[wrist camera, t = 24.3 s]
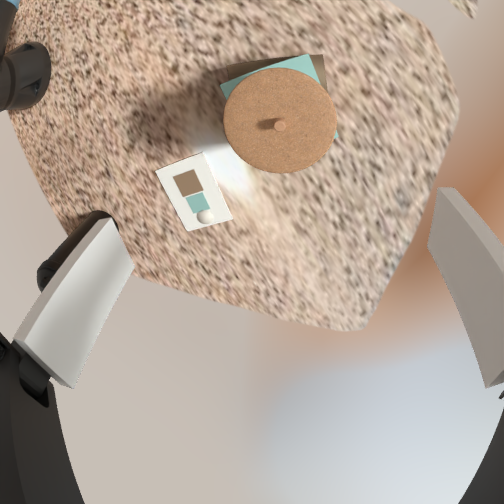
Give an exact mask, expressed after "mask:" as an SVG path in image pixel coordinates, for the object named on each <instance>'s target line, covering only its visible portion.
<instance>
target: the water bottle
mask: <svg viewBox="0 0 504 504" xmlns="http://www.w3.org/2000/svg"><path fill="white" fill-rule="evenodd" d="M111 217H112V216H111V215H109V214H108V213H106V212H104V211H100V210H97V211H93V212H92V213H91V214H90V215H89V216H88V217H87V218H86V219H85V220H84V221H83V222H82V223H81V224H80V225H79V226H78V227H77V228H76V229H75V230H74V231H73V232H72V233H71V234H70V235H69V236H68V238H67V239H66V240H65V241H64V242H63V243H62V244H61V245H60V246H59V247H58V249H57V250H56V251H55V252H54V253H53V254H52V255H51V256H50V258H49V259H48V260H46V261H44V262H43V263H42V264H41V266H40V267H39V268H38V270H37V283H38V287H39V289H40V291H41V293H42V292H43V290H44V289H45V287H46V286H47V285H48V283H49V282H50V280H51V279H52V278H53V276H54V275H55V273H56V272H57V271H58V269H59V268H60V267H61V265H62V264H63V263H64V262H65V260H66V259H67V258H68V256H69V255H70V254H71V253H72V251H73V250H74V249H75V248H76V246H77V245H78V244H79V243H80V241H81V240H82V239H83V238H84V237H85V235H86V234H87V233H88V232H89V231H90V229H91V228H92V227H93V226H94V225H95V224H96V223H97V221H98V220H100V219H106V218H111ZM112 219H113V222H114V224H115V226H116V228H117V230H118V232H119V228H118V225H117V223H116V221H115V220H114V218H113V217H112Z"/></svg>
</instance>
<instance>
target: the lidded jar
mask: <svg viewBox="0 0 504 504" xmlns="http://www.w3.org/2000/svg"><path fill="white" fill-rule="evenodd" d="M223 125H224V131H225V134H226V137H227V140H228V142H229V144H230V145H231V147H232V148H233V150H234V151H235V152H236V154H237V155H238V156H239V157H240V158H241V159H243V160H244V161H245V162H247V163H248V164H250V165H252V166H253V167H255V168H258V169H260V170H263V171H267V172H271V173H291V172H296V171H299V170H302V169H305V168H307V167H309V166H311V165H313V164H314V163H315V162H317V161H318V160H319V159H320V158H321V157H322V156H323V155H324V154H325V153H326V152H327V150H328V149H329V148H330V146H331V144H332V142H333V139H334V136H335V133H336V126H337V118H336V111H335V107H334V105H333V102H332V100H331V98H330V96H329V94H328V93H327V91H326V90H325V89H324V88H323V87H322V86H321V85H320V84H319V83H318V82H317V81H316V80H315V79H313V78H312V77H310V76H308V75H307V74H305V73H302V72H300V71H297V70H293V69H289V68H279V67H278V68H268V69H264V70H260V71H257V72H255V73H253V74H251V75H249V76H247V77H246V78H244V79H243V80H242V81H241V82H240V83H238V84H237V85H236V87H235V88H234V89H233V90H232V92H231V93H230V95H229V97H228V99H227V101H226V104H225V107H224V113H223Z"/></svg>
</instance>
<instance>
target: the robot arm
mask: <svg viewBox="0 0 504 504" xmlns="http://www.w3.org/2000/svg"><path fill="white" fill-rule="evenodd" d="M19 2H20V0H0V112H1V111H3V110H22V109H26V108H29V107H31V106H33V105H35V104H37V103H38V102H39V101H40V100H41V99H42V97H43V96H44V94H45V92H46V90H47V88H48V85H49V81H50V76H51V61H50V56H49V53H48V51H47V49H46V48H45V47H44V45H42V44H41V43H39V42H28V43H24V44H21V45H19V46H18V47H16V48H14V49H13V50H11V51H10V52H8V53H6V54H5V55H4V52H5V48H6V45H7V41H8V37H9V34H10V30H11V27H12V24H13V21H14V18H15V15H16V12H17V11H18V8H19V7H18V5H19ZM427 248H428V249H429V251H430V253H431V255H432V257H433V259H434V261H435V262H436V264H437V266H438V268H439V270H440V272H441V274H442V276H443V278H444V280H445V282H446V285H447V287H448V289H449V291H450V293H451V295H452V297H453V299H454V302H455V304H456V306H457V309H458V311H459V313H460V316H461V318H462V321H463V323H464V326H465V328H466V331H467V333H468V336H469V339H470V341H471V344H472V347H473V349H474V352H475V355H476V358H477V361H478V364H479V368H480V371H481V374H482V377H483V381H484V384H485V387H486V388H489V387H492V386H495V385H498V384H500V383H503V382H504V246H503V245H502V244H501V242H500V241H499V240H498V238H497V237H496V236H495V234H494V233H493V232H492V231H491V229H490V228H489V227H488V226H487V224H486V223H485V222H484V221H483V220H482V218H481V217H480V216H479V215H478V214H477V213H476V211H475V210H474V209H473V208H472V207H471V206H470V205H469V203H468V202H467V201H466V200H465V199H464V198H463V197H462V196H461V195H460V194H459V193H458V192H457V190H455V189H454V188H438V190H437V197H436V203H435V209H434V215H433V221H432V226H431V231H430V235H429V240H428V244H427ZM134 267H135V265H134V263H133V261H132V259H131V257H130V255H129V253H128V251H127V249H126V247H125V245H124V243H123V241H122V239H121V237H120V235H119V232H118V230H117V228H116V226H115V224H114V222H113V219H112V217H111V218H106V219H100V220H98V221H97V223H96V224H95V225H94V226H93V227H92V228H91V229H90V231H89V232H88V233H87V234H86V235H85V237H84V238H83V239H82V240H81V241H80V243H79V244H78V245H77V246H76V248H75V249H74V250H73V251H72V253H71V254H70V255H69V256H68V258H67V259H66V260H65V262H64V263H63V264H62V265H61V267H60V268H59V269H58V271H57V272H56V273H55V275H54V276H53V278H52V279H51V280H50V282H49V283H48V285H47V286H46V287H45V289H44V290H43V292H42V293H41V295H40V296H39V297H38V299H37V301H36V302H35V303H34V305H33V306H32V308H31V310H30V311H29V313H28V314H27V316H26V317H25V319H24V321H23V322H22V324H21V325H20V327H19V329H18V330H17V332H16V334H15V336H14V337H13V339H14V340H13V341H12V343H11V344H10V343H9V342H8V340H7V339H6V338H5V337H4V336H3V335H2V334H1V333H0V504H85V503H84V501H83V498H82V496H81V493H80V490H79V487H78V485H77V482H76V479H75V476H74V473H73V470H72V467H71V463H70V460H69V456H68V453H67V449H66V445H65V442H64V438H63V434H62V429H61V424H60V419H59V414H58V410H57V404H56V398H55V391H54V387H53V384H52V383H51V382H50V381H49V379H50V377H51V376H52V377H53V378H54V379H55V380H56V381H57V382H58V383H59V384H61V385H63V386H66V387H69V388H72V389H74V387H75V385H76V383H77V380H78V378H79V376H80V374H81V371H82V369H83V367H84V365H85V362H86V360H87V358H88V356H89V353H90V351H91V349H92V347H93V345H94V343H95V341H96V339H97V337H98V335H99V333H100V331H101V329H102V327H103V325H104V323H105V321H106V318H107V317H108V315H109V313H110V311H111V309H112V307H113V305H114V303H115V302H116V300H117V298H118V296H119V294H120V292H121V290H122V289H123V287H124V285H125V283H126V281H127V280H128V278H129V276H130V274H131V273H132V271H133V269H134ZM503 397H504V391H503V392H502V393H501V395H500V397H499V398H500V399H502V398H503ZM458 504H504V409H503V412H502V416H501V418H500V421H499V423H498V426H497V428H496V431H495V434H494V436H493V438H492V441H491V443H490V445H489V448H488V450H487V452H486V454H485V456H484V458H483V461H482V462H481V464H480V466H479V468H478V470H477V472H476V474H475V476H474V478H473V480H472V482H471V483H470V485H469V487H468V489H467V490H466V492H465V494H464V496H463V497H462V499H461V500H460V502H459V503H458Z"/></svg>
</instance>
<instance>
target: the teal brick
mask: <svg viewBox="0 0 504 504" xmlns="http://www.w3.org/2000/svg"><path fill="white" fill-rule="evenodd" d="M278 67H279V68H289V69H293V70H297V71H300V72H302V73H305V74H307V75H308V76H310V77H312V78H313V79H315V80H316V81H317V82H318V83H319V84H320V82H319V79H318V76H317V74H316V71H315V69H314V66H313V64H312V61H311V59H310V56H309V54H305V55H302V56H298V57H295V58H292V59H288V60H285V61H282V62H279V63H276V64H273V65H270V66H267V67H264V68H261V69H259V70H256V71H253V72H250V73H248V74H245V75H243V76H240V77H237V78H235V79H233V80H230V81H228V82H225V83H223V84H221V85H220V87H221V89H222V91H223V93H224V96H225V98H226V100H227V99H228V97H229V95H230V93H231V92H232V90H233V89H234V88H235V87H236V85H237V84H238V83H240V82H241V81H242V80H243V79H244V78H246V77H247V76H249V75H251V74H253V73H255V72H257V71H260V70H264V69H268V68H278ZM320 85H321V84H320ZM337 137H338V134H337V131H336V133H335V136H334V138H337Z"/></svg>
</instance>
